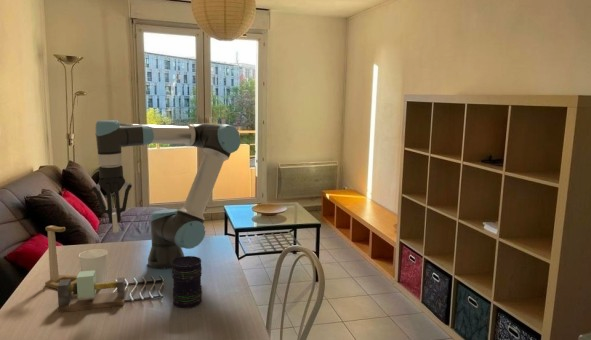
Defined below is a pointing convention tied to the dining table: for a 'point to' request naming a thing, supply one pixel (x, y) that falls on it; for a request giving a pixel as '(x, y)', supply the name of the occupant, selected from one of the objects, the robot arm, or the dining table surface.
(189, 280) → the storage jar
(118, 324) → the dining table surface
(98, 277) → the candle holder
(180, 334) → the dining table surface
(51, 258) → the headphone stand
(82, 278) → the sleeve
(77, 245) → the dining table surface
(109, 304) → the rail
